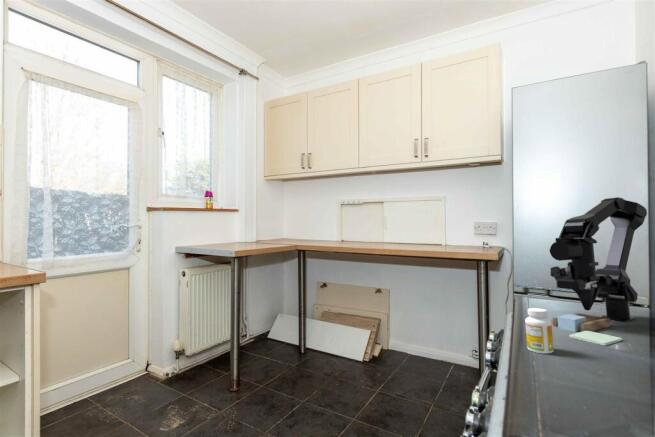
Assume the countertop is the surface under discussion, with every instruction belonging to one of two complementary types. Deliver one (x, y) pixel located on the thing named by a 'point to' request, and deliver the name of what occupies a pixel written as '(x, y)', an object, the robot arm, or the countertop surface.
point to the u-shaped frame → (589, 322)
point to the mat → (595, 337)
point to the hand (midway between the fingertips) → (587, 310)
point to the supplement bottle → (539, 331)
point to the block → (570, 322)
